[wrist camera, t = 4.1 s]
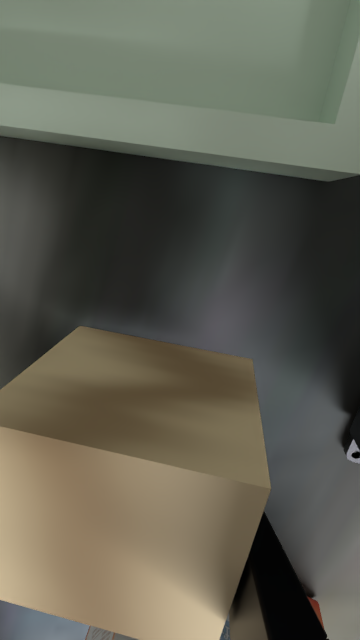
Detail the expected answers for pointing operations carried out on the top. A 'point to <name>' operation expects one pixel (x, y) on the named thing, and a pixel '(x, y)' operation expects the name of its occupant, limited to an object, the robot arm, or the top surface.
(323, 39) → the green tote
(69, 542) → the oak block
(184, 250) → the top surface
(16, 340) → the top surface
